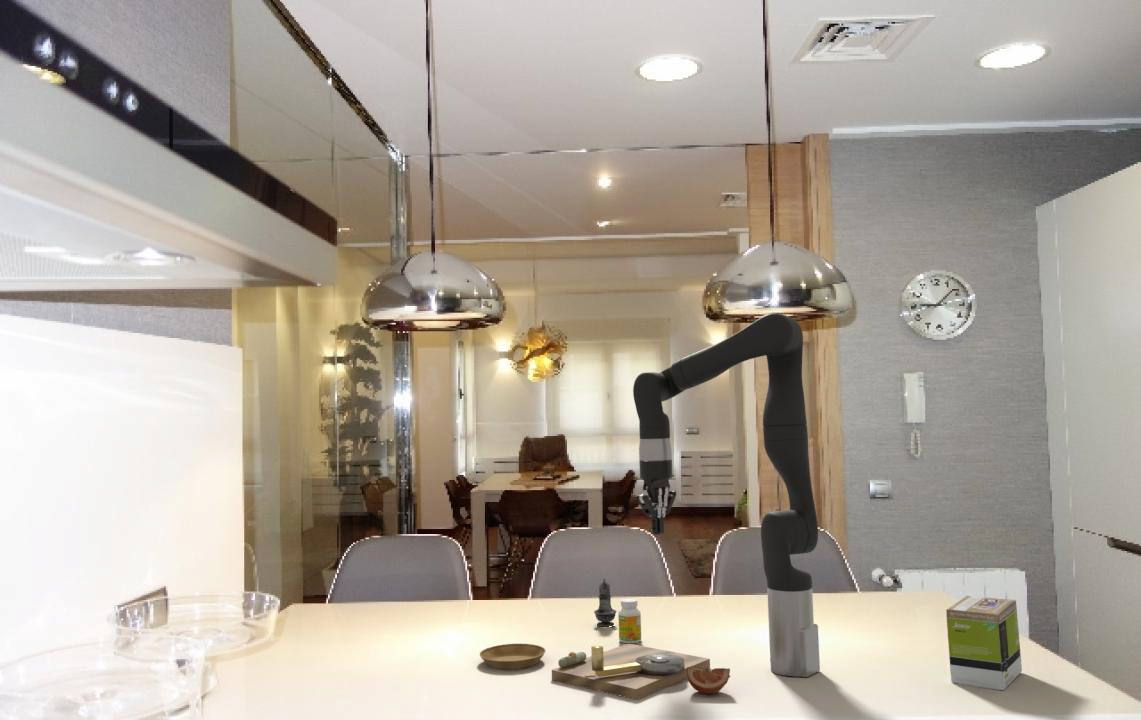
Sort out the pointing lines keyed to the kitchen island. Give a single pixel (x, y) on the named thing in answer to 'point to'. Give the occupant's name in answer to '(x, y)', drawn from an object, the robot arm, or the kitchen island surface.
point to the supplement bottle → (629, 621)
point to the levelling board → (627, 684)
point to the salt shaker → (605, 606)
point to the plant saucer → (512, 655)
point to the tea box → (984, 642)
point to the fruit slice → (707, 679)
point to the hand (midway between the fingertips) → (658, 534)
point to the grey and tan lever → (638, 664)
